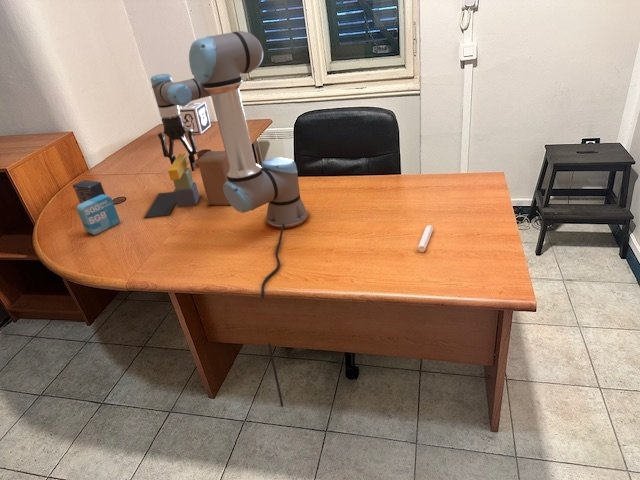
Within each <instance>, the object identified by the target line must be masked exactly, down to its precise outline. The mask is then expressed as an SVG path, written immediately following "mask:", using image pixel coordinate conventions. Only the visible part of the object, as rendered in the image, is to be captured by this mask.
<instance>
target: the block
mask: <svg viewBox="0 0 640 480" xmlns="http://www.w3.org/2000/svg"><path fill="white" fill-rule="evenodd" d="M197 159H198V158H197ZM198 165H199V166H198V168H199V172H200V176H201V181H202V185H203V188H204V192H205V196H206V200H207V205H210V206H230V205H231V204H230V203H229V202H228V200H227V198H226V196H225V194H224V191H223V187H224V186H223V185H224V183H226V182H227V181H228V178H227V172H228V171H229V169H230V167H229V163H228V160H227V156H226V152H225V150H211V151H207V152H206V153H205V154H204V155H203V156H201V157H200V158H199V159H198Z"/></svg>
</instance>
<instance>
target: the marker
mask: <svg viewBox="0 0 640 480" xmlns="http://www.w3.org/2000/svg"><path fill="white" fill-rule="evenodd" d="M433 231H434V228H433V226H432V224H429V225H428V224H427V226H426V227H425V229H424V231H423V234H422V236H421V239H420V241H419V244H418V246H417V250H418V252H420V253H424V252H425V251H426V249H427V246H428V244H429V241H430V238H431V236H432V233H433Z"/></svg>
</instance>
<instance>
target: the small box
mask: <svg viewBox="0 0 640 480" xmlns="http://www.w3.org/2000/svg"><path fill="white" fill-rule="evenodd" d="M72 187H73V190H74V192H75V194H76V196H77V199H78V202H79V204H81V203H83V202H85V201H88V200H90V199H92V198H95V197H97V196H99V195H102V194H103V195H106V192H105V190H104V187H103V185H102V182H101V181H96V180H88V179H83V180H81V181H79V182H77V183H74V184H72Z"/></svg>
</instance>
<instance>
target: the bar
mask: <svg viewBox="0 0 640 480" xmlns="http://www.w3.org/2000/svg"><path fill="white" fill-rule="evenodd" d="M188 156H189V154H188V152H186V153H185V152H184V153H178V155H177V156H176V159H175V161H174V162H173V164H172V165H171V164H170V167H169V168H168V170H167V172H168V176H169V179H170V181H173V180H178V179H180V178H181V176H182V174H183V173H184V171H185V169H186V168H188V165H190V161H189V158H188Z"/></svg>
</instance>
